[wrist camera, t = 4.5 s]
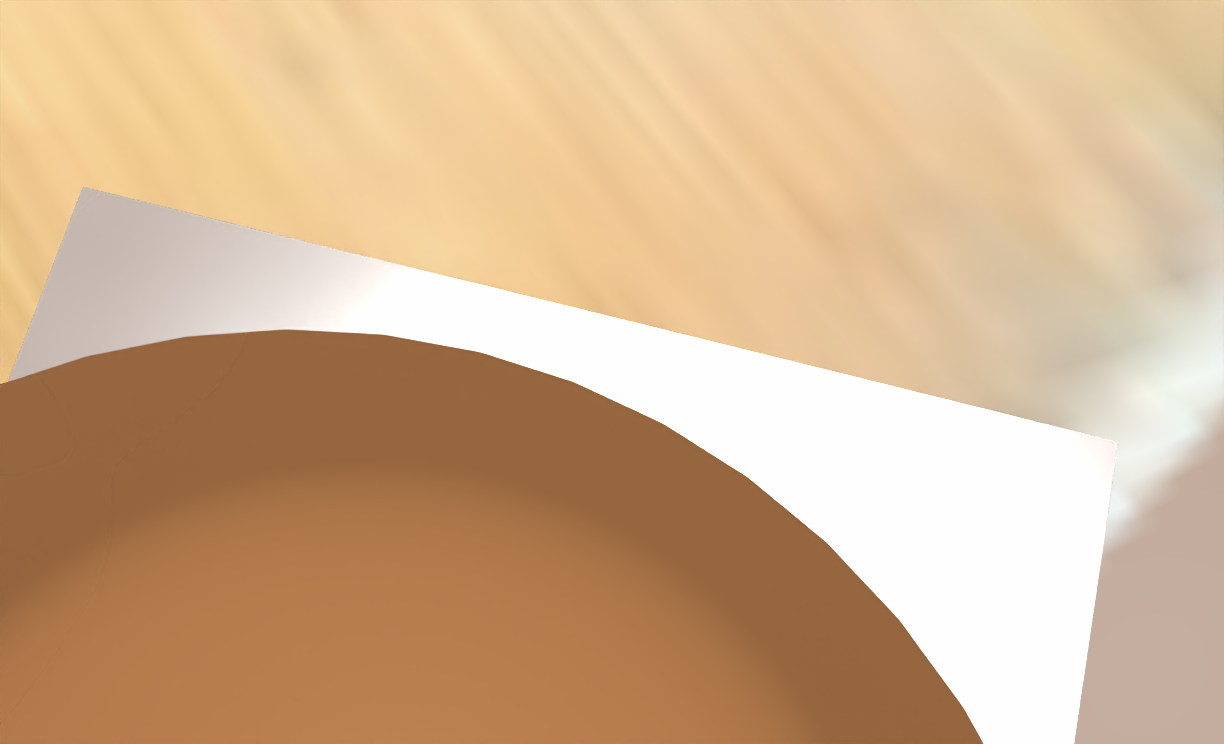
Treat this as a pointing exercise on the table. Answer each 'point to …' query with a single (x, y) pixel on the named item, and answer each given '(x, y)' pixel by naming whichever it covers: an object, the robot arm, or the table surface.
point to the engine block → (501, 520)
